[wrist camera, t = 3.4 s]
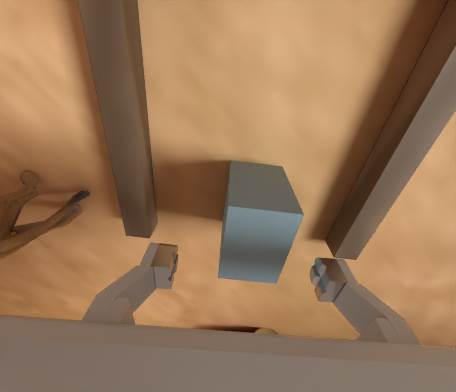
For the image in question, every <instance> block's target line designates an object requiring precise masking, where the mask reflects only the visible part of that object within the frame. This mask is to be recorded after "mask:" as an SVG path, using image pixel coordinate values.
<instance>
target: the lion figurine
mask: <svg viewBox="0 0 456 392" xmlns="http://www.w3.org/2000/svg"><path fill="white" fill-rule="evenodd" d="M20 179H21V181H22V182H23V183H24V184H26V186H25V187H24V188H23V189H21V190H19V191H17V192H14V193H11V194H8V195H6V196H3V197H0V258H3V257H5V256H7V255H9V254H11V253H13V252H15V251H17V250H18V249H20V248H21V247H23V246H24V245H26V244H27V243H29V242H30V241H32V240H34V239H35V238H37V237H39V236H40V235H42V234H44V233H46V232H48V231H50V230H52V229H55V228H59V227H63V226H65V225H67V224H69V223H70V222H71V221H72V220H73V219H74V218H76V217H77V216H78V215H79V214H80V213H81V209H80V207H79V206H78V205H75V204H76V203H77V202H79V201H80V200H82V199H84V198H86V197H87V196H89V195H90V192H89V191H88V190H87V191H81V192H79V193H77V194H75V195H74V196H73V197H72V198H71V199H70V200H69V201H68V202H67V203H66V204H65V205H64V206H63V207H62V208H61V209H60V210H59V211H57V212H56V213H55V214H53V215H52V216H50V217H49V218H48V219H46V220H45V221H41V222H36V223H31V224H26V225H20V226H15V227H14V225H15V223H16V221H17V219H18V216H19V214H20V212H21V209H22V207H23V205H24V204H25V203H26V202H27V201H28V200H30V199H31V198H33V197H36V196H38V195H39V182H40V180H39V178H38V176H37V175H35V174H34V173H32V172H29V171H25V172H23V173H22V174H21V176H20Z"/></svg>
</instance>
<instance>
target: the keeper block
mask: <svg viewBox="0 0 456 392" xmlns="http://www.w3.org/2000/svg"><path fill="white" fill-rule="evenodd" d="M303 216H304V214H303V212H302V209H301V207H300V205H299V203H298V200H297V198H296V196H295V194H294V191H293V189H292V187H291V185H290V183H289V180H288V178H287V176H286V174H285V171H284V169H283V167H280V166H272V165H264V164H255V163H247V162H239V161H231V162H230V169H229V177H228V184H227V192H226V200H225V207H224V215H223V223H222V236H221V248H220V260H219V273H218V278H224V279H234V280H244V281H254V282H264V283H274V284H277V281H278V279H279V276H280V273H281V271H282V268H283V266H284V263H285V261H286V258H287V256H288V253H289V251H290V248H291V246H292V243H293V241H294V238H295V236H296V233H297V231H298V228H299V226H300V223H301V221H302V218H303Z"/></svg>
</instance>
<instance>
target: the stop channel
mask: <svg viewBox="0 0 456 392" xmlns="http://www.w3.org/2000/svg"><path fill="white" fill-rule="evenodd" d="M78 4H79V9H80V14H81V18H82V23H83V28H84V33H85V38H86V43H87V48H88V53H89V57H90V62H91V67H92V72H93V77H94V82H95V87H96V92H97V96H98V101H99V106H100V111H101V116H102V121H103V126H104V131H105V136H106V140H107V145H108V150H109V155H110V160H111V165H112V170H113V175H114V179H115V184H116V189H117V194H118V199H119V204H120V209H121V214H122V218H123V223H124V228H125V233H126V236H134V237H143V238H150V237H151V235H152V233H153V231H154V229H155V227H156V225H157V214H156V202H155V191H154V180H153V169H152V158H151V147H150V136H149V125H148V114H147V102H146V91H145V80H144V69H143V58H142V47H141V36H140V25H139V14H138V2H137V0H78ZM455 111H456V0H449V1H448V3H447V5H446V7H445V8H444V10H443V12H442V14H441V16H440V18H439V20H438V22H437V24H436V26H435V28H434V30H433V32H432V34H431V36H430V38H429V40H428V42H427V44H426V46H425V48H424V50H423V51H422V53H421V55H420V57H419V59H418V61H417V63H416V65H415V67H414V69H413V71H412V73H411V75H410V77H409V79H408V81H407V83H406V85H405V87H404V89H403V91H402V93H401V94H400V96H399V98H398V100H397V102H396V104H395V106H394V108H393V110H392V112H391V114H390V116H389V118H388V120H387V122H386V124H385V126H384V128H383V130H382V132H381V134H380V136H379V137H378V139H377V141H376V143H375V145H374V147H373V149H372V151H371V153H370V155H369V157H368V159H367V161H366V163H365V165H364V167H363V169H362V171H361V173H360V175H359V177H358V179H357V180H356V182H355V184H354V186H353V188H352V190H351V192H350V194H349V196H348V198H347V200H346V202H345V204H344V206H343V208H342V210H341V212H340V214H339V216H338V218H337V220H336V222H335V223H334V225H333V227H332V229H331V231H330V233H329V235H328V237H327V239H326V243H327V245H328V247H329V249H330V251H331V253H332V255H333V257H334V258H344V259H353V260H356V259H357V258H358V256H359V255H360V253H361V252H362V250H363V249H364V247H365V246H366V244H367V243H368V241H369V240H370V238H371V237H372V235H373V234H374V232H375V231H376V229H377V228H378V226H379V225H380V223H381V222H382V220H383V219H384V217H385V216H386V214H387V213H388V211H389V210H390V208H391V207H392V205H393V204H394V202H395V201H396V199H397V198H398V196H399V195H400V193H401V192H402V190H403V189H404V187H405V186H406V184H407V183H408V181H409V180H410V178H411V177H412V175H413V174H414V172H415V171H416V169H417V168H418V166H419V165H420V163H421V162H422V160H423V159H424V157H425V156H426V154H427V153H428V151H429V150H430V148H431V147H432V145H433V144H434V142H435V141H436V139H437V138H438V136H439V135H440V133H441V132H442V130H443V129H444V127H445V126H446V124H447V123H448V121H449V120H450V118H451V117H452V115H453V114H454V112H455Z"/></svg>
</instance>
